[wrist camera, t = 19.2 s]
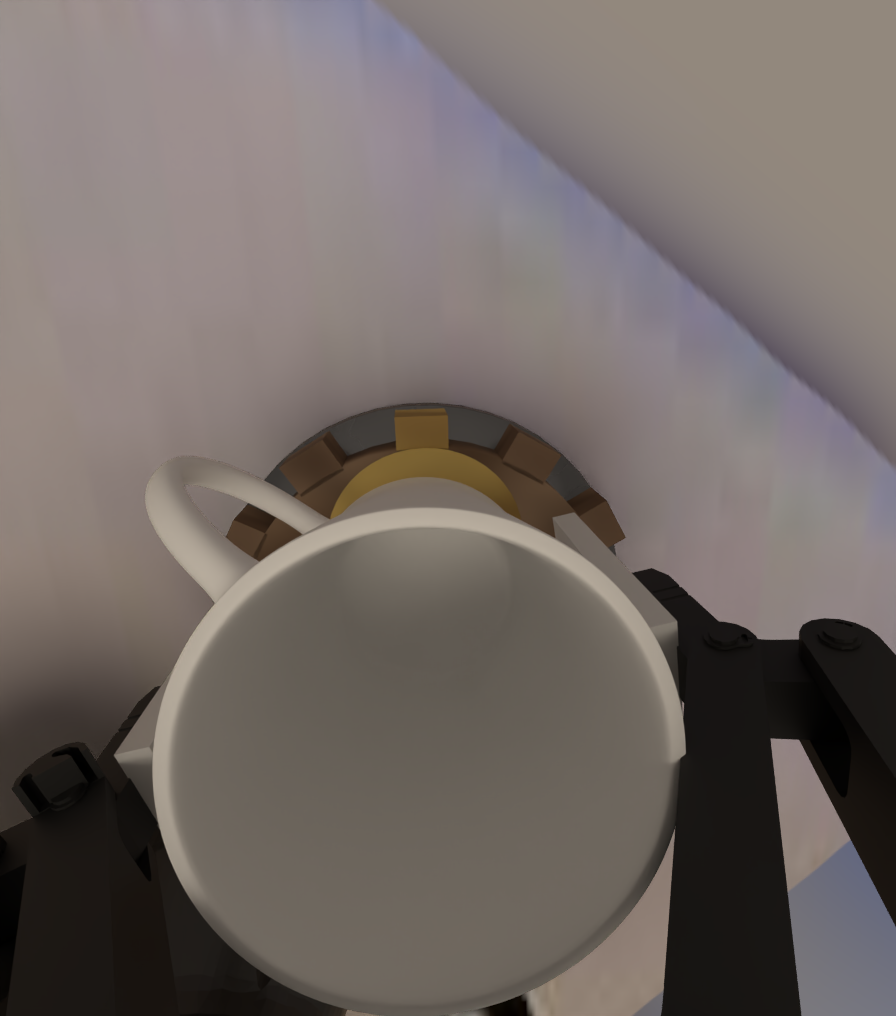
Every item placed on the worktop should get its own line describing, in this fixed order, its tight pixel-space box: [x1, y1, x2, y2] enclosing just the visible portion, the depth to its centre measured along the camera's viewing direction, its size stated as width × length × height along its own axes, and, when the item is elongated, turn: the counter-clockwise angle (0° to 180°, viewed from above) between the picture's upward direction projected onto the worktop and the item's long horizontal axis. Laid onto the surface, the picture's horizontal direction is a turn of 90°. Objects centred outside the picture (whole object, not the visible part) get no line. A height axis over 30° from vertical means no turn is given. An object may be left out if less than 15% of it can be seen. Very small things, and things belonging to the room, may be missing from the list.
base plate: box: [247, 403, 616, 556], centre depth 24 cm, size 19×19×1 cm
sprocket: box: [226, 408, 626, 562], centre depth 19 cm, size 18×18×8 cm
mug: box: [145, 456, 686, 1016], centre depth 13 cm, size 12×8×12 cm
